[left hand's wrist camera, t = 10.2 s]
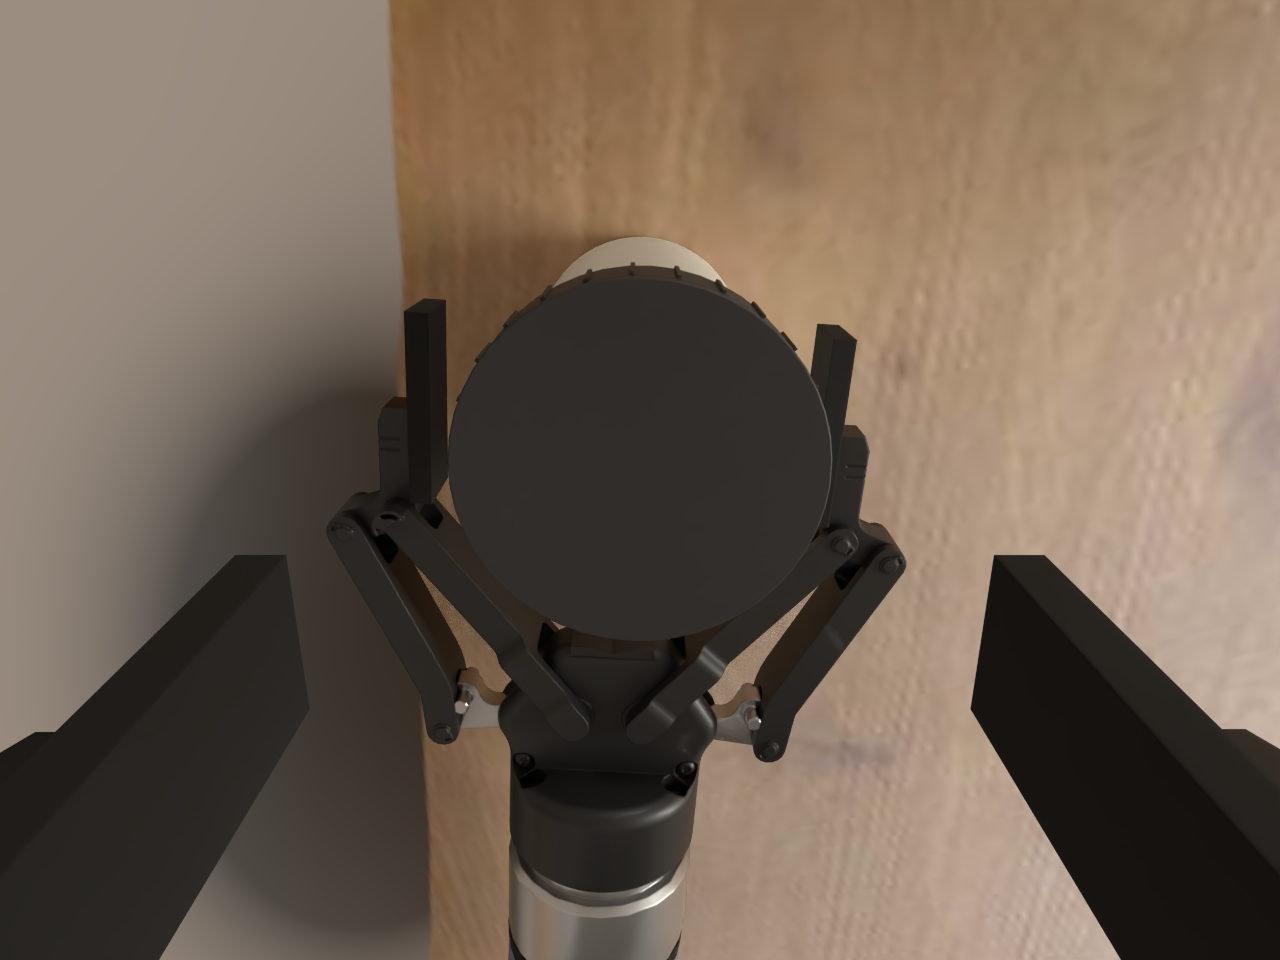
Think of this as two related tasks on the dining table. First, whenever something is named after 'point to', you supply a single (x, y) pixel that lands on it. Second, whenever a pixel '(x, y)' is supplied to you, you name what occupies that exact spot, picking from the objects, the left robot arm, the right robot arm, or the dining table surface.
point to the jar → (639, 258)
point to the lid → (639, 454)
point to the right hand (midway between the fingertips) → (632, 317)
